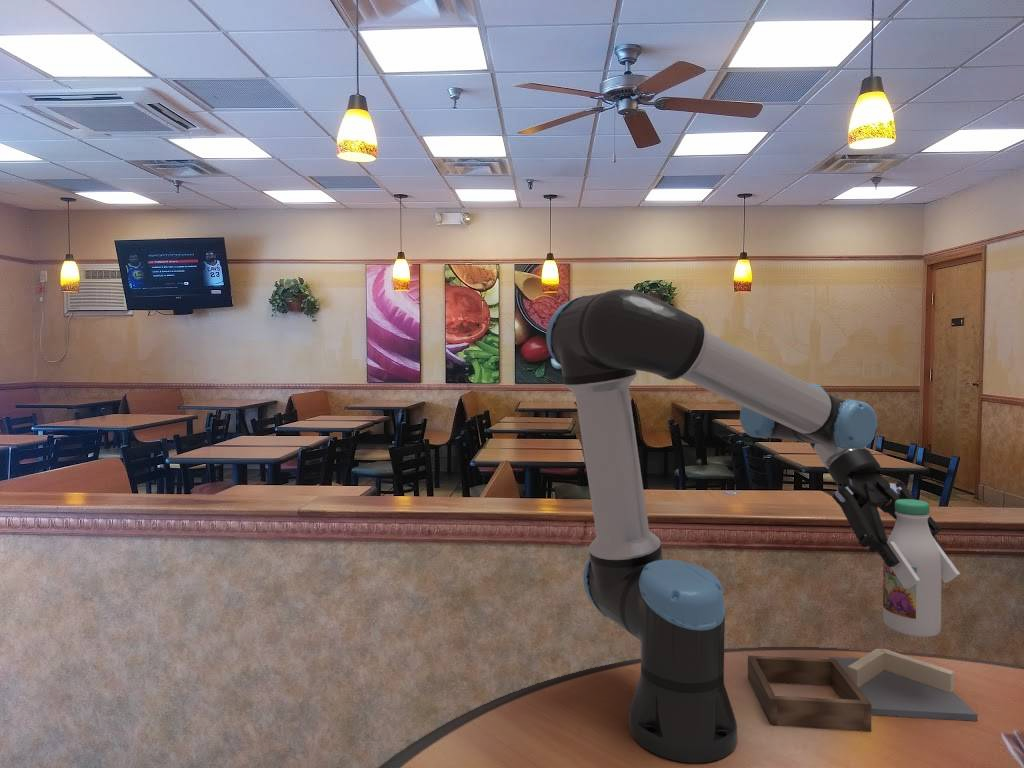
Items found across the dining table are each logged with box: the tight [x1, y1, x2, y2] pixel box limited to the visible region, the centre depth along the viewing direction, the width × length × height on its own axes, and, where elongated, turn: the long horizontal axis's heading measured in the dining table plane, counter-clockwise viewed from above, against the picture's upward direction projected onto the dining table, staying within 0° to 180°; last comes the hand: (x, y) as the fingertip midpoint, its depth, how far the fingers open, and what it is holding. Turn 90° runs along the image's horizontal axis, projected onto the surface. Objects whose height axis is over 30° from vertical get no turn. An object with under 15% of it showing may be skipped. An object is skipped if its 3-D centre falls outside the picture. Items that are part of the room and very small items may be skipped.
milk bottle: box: [882, 499, 942, 638], centre depth 100 cm, size 8×8×20 cm
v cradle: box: [828, 647, 978, 722], centre depth 104 cm, size 16×17×4 cm
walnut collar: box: [747, 655, 872, 732], centre depth 100 cm, size 14×14×4 cm
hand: (932, 581), depth 97 cm, fingers closed on milk bottle, 7 cm apart
